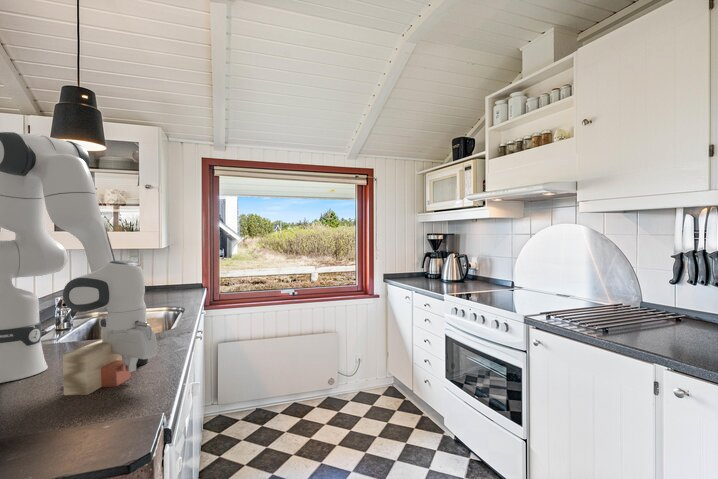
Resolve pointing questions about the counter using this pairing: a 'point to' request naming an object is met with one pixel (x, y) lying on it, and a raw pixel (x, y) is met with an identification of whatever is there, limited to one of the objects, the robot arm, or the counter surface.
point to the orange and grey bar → (114, 374)
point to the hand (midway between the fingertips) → (130, 370)
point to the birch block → (86, 367)
